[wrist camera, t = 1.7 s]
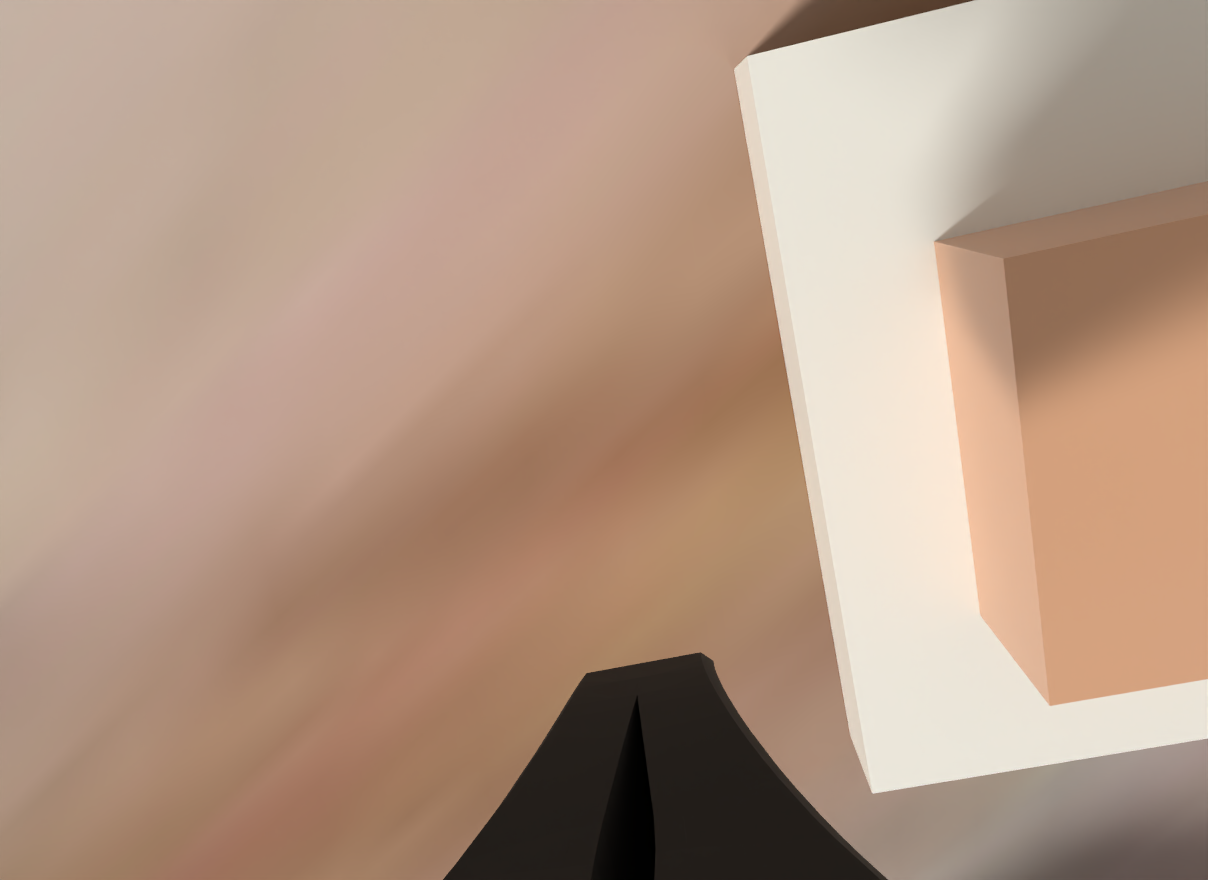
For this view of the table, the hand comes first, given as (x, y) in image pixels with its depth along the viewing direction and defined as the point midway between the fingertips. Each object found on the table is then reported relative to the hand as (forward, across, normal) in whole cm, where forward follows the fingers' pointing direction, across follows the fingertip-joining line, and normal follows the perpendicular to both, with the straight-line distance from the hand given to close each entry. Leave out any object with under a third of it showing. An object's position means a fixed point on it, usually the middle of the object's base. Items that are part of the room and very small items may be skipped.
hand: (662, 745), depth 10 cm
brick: (+7, -8, 0) cm, 11 cm away
